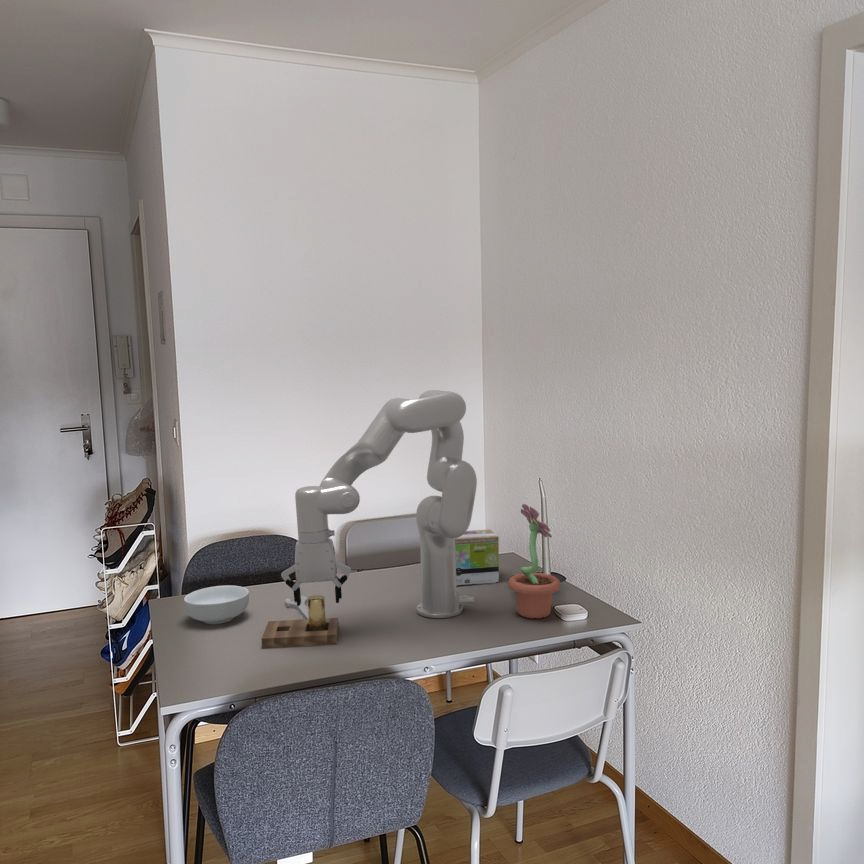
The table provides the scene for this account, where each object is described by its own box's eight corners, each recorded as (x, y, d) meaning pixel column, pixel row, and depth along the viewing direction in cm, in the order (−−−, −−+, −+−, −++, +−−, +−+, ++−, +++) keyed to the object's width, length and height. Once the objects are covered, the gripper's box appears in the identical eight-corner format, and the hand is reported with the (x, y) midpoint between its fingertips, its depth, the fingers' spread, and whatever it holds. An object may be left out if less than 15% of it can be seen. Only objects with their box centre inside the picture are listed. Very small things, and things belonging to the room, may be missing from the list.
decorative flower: (572, 620, 201) (571, 506, 198) (523, 627, 197) (521, 511, 194) (546, 602, 215) (545, 496, 212) (500, 609, 211) (498, 501, 208)
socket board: (338, 626, 202) (338, 617, 201) (336, 644, 190) (336, 634, 190) (268, 630, 200) (268, 621, 200) (262, 648, 189) (261, 638, 188)
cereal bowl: (250, 606, 220) (248, 581, 220) (250, 626, 204) (249, 600, 203) (187, 612, 216) (185, 588, 216) (183, 633, 200) (181, 607, 200)
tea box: (451, 587, 232) (450, 539, 230) (444, 577, 242) (442, 531, 240) (499, 583, 235) (498, 535, 233) (490, 573, 244) (489, 527, 243)
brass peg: (326, 633, 198) (325, 594, 197) (325, 639, 193) (324, 600, 192) (310, 633, 197) (308, 595, 196) (308, 640, 193) (307, 601, 192)
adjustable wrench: (323, 628, 202) (323, 622, 202) (299, 632, 200) (298, 626, 200) (304, 599, 225) (304, 593, 225) (282, 603, 223) (282, 597, 223)
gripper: (349, 530, 197) (353, 595, 199) (280, 535, 196) (285, 600, 198) (348, 537, 189) (352, 605, 192) (276, 542, 188) (281, 610, 190)
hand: (318, 602), depth 195 cm, fingers open, 9 cm apart
